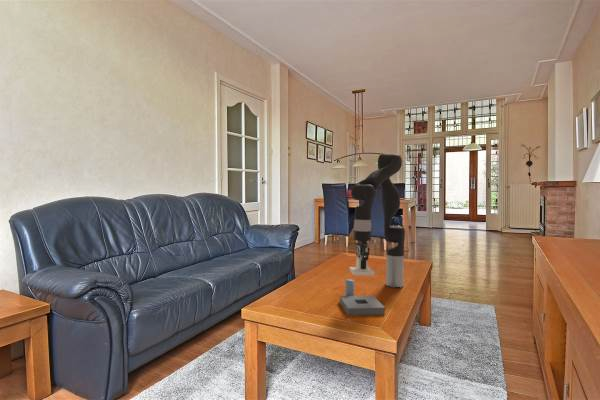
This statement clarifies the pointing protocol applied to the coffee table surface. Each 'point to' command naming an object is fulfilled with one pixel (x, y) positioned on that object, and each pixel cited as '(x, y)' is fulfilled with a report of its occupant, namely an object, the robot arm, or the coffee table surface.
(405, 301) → the coffee table surface
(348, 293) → the peg
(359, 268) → the lid
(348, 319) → the coffee table surface
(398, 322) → the coffee table surface
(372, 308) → the socket plate
